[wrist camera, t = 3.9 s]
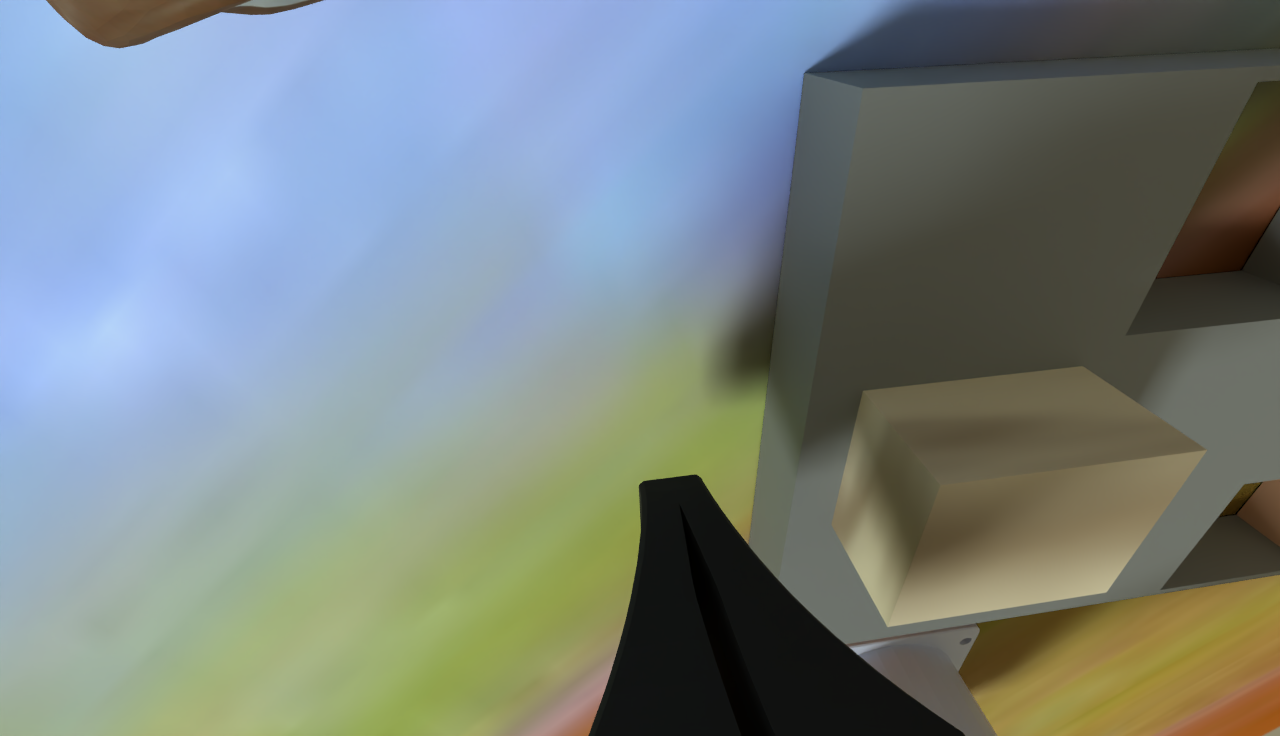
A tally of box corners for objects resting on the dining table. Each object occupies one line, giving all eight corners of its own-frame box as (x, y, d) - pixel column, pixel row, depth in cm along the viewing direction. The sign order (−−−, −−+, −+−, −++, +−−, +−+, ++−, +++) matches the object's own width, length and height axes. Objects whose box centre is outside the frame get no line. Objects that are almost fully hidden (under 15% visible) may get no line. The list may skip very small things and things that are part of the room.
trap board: (1370, 498, 23) (1507, 581, 20) (743, 591, 20) (781, 704, 17) (1844, 18, 14) (2255, 22, 10) (804, 72, 11) (913, 101, 8)
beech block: (1017, 499, 16) (1106, 592, 13) (831, 525, 15) (887, 626, 13) (1082, 365, 13) (1207, 449, 11) (862, 390, 13) (940, 484, 10)
